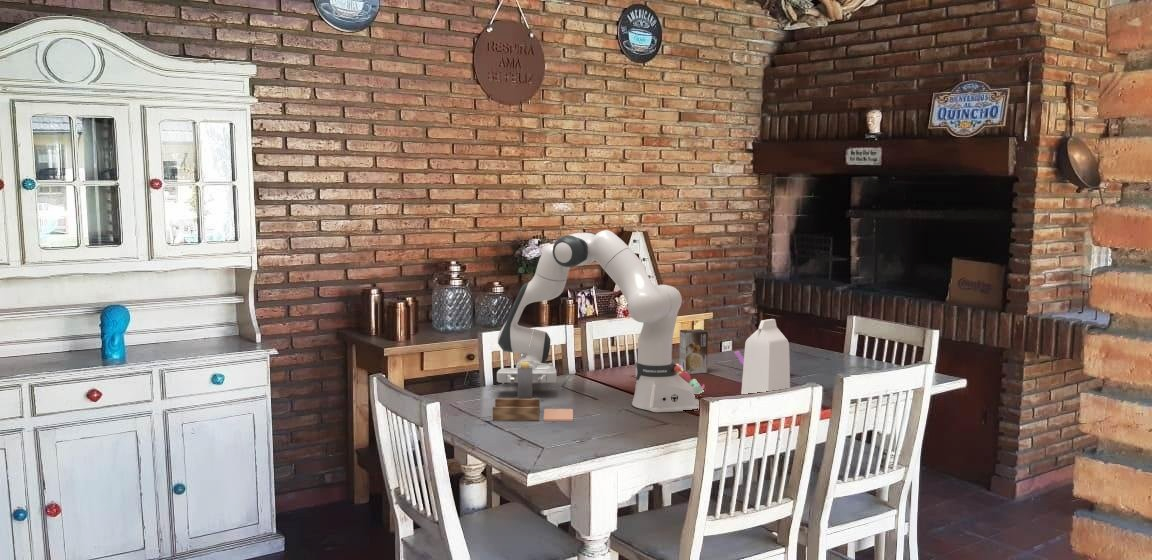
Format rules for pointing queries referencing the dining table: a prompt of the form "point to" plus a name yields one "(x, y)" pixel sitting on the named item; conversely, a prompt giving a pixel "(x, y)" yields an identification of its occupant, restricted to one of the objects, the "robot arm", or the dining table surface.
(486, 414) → the dining table surface
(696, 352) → the coffee box
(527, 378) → the grey tall block
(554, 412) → the terracotta tile
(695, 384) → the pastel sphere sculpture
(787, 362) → the milk
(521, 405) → the guide channel
